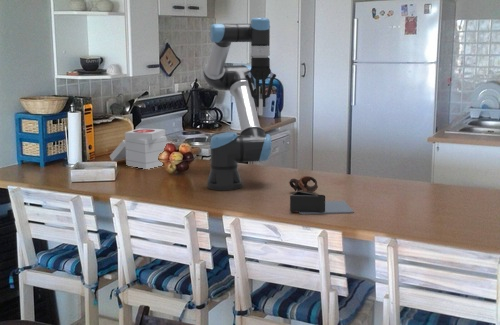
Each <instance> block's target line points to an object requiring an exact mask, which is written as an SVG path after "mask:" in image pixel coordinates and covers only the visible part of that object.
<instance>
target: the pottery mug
mask: <svg viewBox="0 0 500 325" xmlns="http://www.w3.org/2000/svg"><path fill="white" fill-rule="evenodd" d="M308 182H313V183H314V185H308ZM288 183H289V186H290V187H291V188H292V189H293V190H294V191H295V192H297V191H303V192H308V193H314V192H315V191H317V189H318V188H319V187H318V186H319V185H318V182H317V179H315V178H314V177H313V176H309V175H304V176H301V177H300V179H296V178H290V181H289V182H288Z"/></svg>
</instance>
